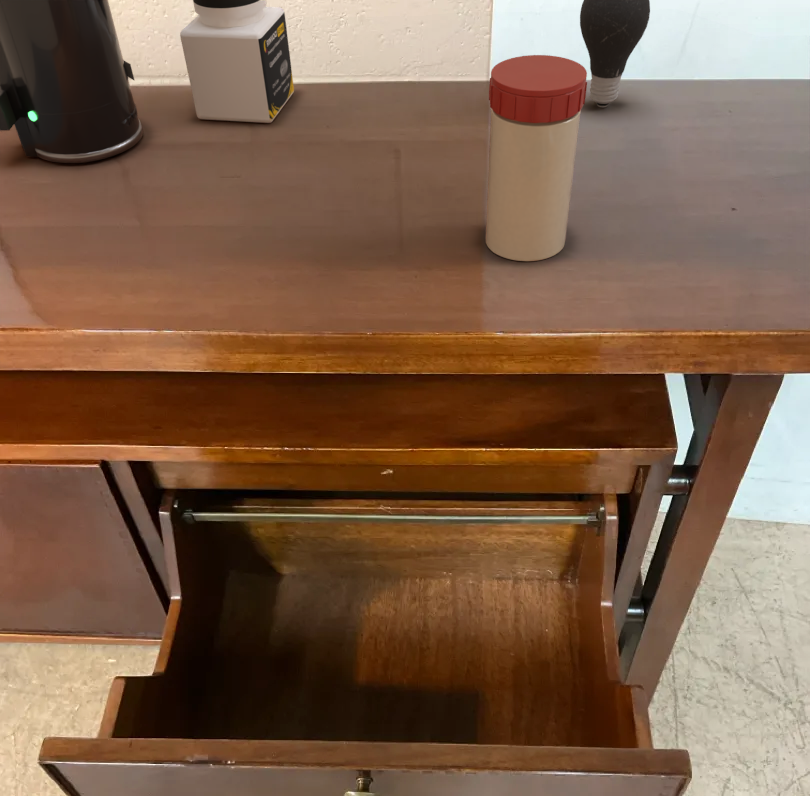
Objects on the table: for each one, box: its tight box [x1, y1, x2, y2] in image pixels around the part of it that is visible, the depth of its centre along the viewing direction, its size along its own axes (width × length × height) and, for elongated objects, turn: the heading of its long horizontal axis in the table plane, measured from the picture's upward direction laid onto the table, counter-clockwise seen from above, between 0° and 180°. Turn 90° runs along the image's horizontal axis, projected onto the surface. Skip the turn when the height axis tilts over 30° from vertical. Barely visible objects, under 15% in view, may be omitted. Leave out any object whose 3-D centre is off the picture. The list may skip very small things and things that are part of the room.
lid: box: [488, 54, 588, 123], centre depth 52 cm, size 6×6×2 cm
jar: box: [485, 108, 582, 262], centre depth 55 cm, size 6×6×11 cm
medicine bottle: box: [179, 0, 295, 124], centre depth 72 cm, size 7×7×12 cm
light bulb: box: [579, 0, 651, 108], centre depth 71 cm, size 6×6×10 cm
